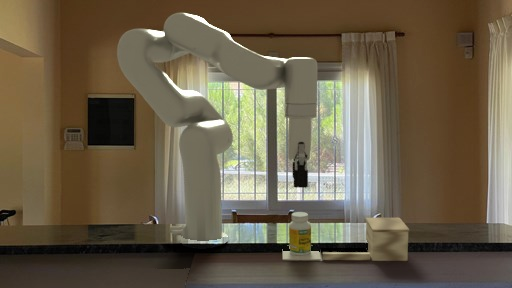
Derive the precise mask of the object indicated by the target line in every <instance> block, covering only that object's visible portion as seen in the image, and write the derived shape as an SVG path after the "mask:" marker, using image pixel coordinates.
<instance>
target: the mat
mask: <svg viewBox="0 0 512 288" xmlns="http://www.w3.org/2000/svg"><path fill="white" fill-rule="evenodd" d="M320 252H321V251H320ZM320 252H319V251H311V252H310V253H309V254H308V255H303V256H298V255H294V254H291V253H290V251H283V250H282V261H319V260H321V257H320Z"/></svg>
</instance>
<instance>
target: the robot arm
mask: <svg viewBox="0 0 512 288" xmlns="http://www.w3.org/2000/svg"><path fill="white" fill-rule="evenodd" d="M163 24H164V25H163V30H161V31H160V30H156V29H155V30H154V29H147V28H132V29H130V30H127V31H126V32H124V33H123V34H122V35H121V36H120V38H119V41H118V44H117V50H116V55H117V62H118V66H119V68H120V70H121V72H122V73H123V76H124V77H125V78H126V79H127V80H128V82H129V83H130V84H131V85H132V86H133V87H134V88H135V90H136V91H138V93H139V94H140V96H141V97H143V100H145V102H146V103H147V104H148V105H149V107H150V108H151V109H152V110H153V111H154V112H155V114H156V115H157V116H158V117H159V119H160V120H161V121H162V122H163V123H164V124H165V125H167V126H168V127H170V128H182V127H185V128H184V129H183V130H182V131H181V134H180V137H179V141H178V146H179V154H180V158H181V162H182V170H183V172H182V173H183V189H184V191H183V192H184V194H183V195H184V215H185V216H184V217H185V224H182V225H181V226H177V225H170V226H169V234H171V235H172V236H181V237H182V236H183V238H185V239H190V240H197V241H209V240H217V239H221V238H222V237H228V238H229V236H228V234H227V233H226V232H223V211H222V205H223V204H222V177H221V168H220V167H221V166H220V164H219V161H218V155H220V154H222V153H225V152H226V151H227V150H229V149H230V147H231V146H232V143H233V141H234V140H233V139H234V136H233V131H232V128H231V126H230V125H229V123H228V122H227V121H226V120H225V119H224V117H223V116H222V115H221V113H220V112H218V111H217V109H216V108H215V107H214V106H213V104H212V103H211V102H210V101H209V100H208V99H207V97H205V96H204V95H203V94H201V93H200V92H198V91H195V90H192V89H181V88H180V87H178V86H177V85H176V84H175V83H174V82H173V81H172V79H171V78H170V76H168V74H167V73H166V72H165V71H164V70H162V69H161V68H160V67H158V66H157V64H155V63H167V62H171V61H174V60H175V59H178V58H181V57H183V56H185V55H188V54H191V55H192V56H194V57H197V58H199V59H201V60H203V61H205V62H207V63H208V64H210V65H213V67H215V68H216V69H218V70H219V71H220V72H222V73H224V74H225V75H226V76H228V77H230V78H232V79H234V80H236V81H237V82H240V83H242V84H244V85H245V86H248V87H250V88H252V89H254V90H255V89H256V90H260V91H262V90H263V91H264V90H265V91H266V90H276V89H282V88H283V89H284V118H286V119H288V127H287V128H288V131H287V135H288V136H287V137H288V140H287V141H288V142H287V157H288V160H289V161H291V162H292V160H293V162H292V178H293V187H294V188H301V189H302V188H308V185H309V170H308V161H309V160H310V157H311V146H312V119H316V118H317V117H318V115H317V114H318V113H317V111H318V62H317V60H316V59H315V58H313V57H289V58H280V57H272V56H264V55H262V54H259V53H257V52H255V51H253V50H250V49H248V48H246V47H244V46H242V45H241V44H239V43H237V42H236V41H234V40H233V38H232V37H231V35H230V33H228V32H227V31H224V30H222V29H220V28H217V27H216V26H213V25H212V24H209V23H208V22H207V21H206V20H205V18H203V17H200V15H199V16H198V15H195V14H190V13H186V12H176V13H173V14H171V15H170V16H168V17H167V19H166V20H165V22H164V23H163ZM186 126H187V127H186Z"/></svg>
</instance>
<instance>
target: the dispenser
mask: <svg viewBox="0 0 512 288" xmlns="http://www.w3.org/2000/svg"><path fill="white" fill-rule="evenodd" d="M364 220H365V222H366V223H365V224H366V225H365V229H366V230H365V241H366V240H367V242H368V250H367V252H364V251H363V252H361V251H360V252H358V251H355V252H353V251H352V252H350V251H349V252H345V251H344V252H341V251H340V252H339V251H338V252H337V251H332V252H329V251H322V253H321V251H320V257H321V260H318V261H319V262H323V261H371V260H372V261H377V262H378V261H379V262H383V261H384V262H385V261H386V262H390V261H391V262H392V261H393V262H396V261H398V262H401V261H402V262H406V261H408V255H409V254H408V253H409V250H408V249H409V248H408V247H409V232H410V228H409V227H408V226H407V224H406V223H405V222H404V221H403V220H402V219H401V218H400V217H365V218H364Z"/></svg>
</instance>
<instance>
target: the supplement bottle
mask: <svg viewBox="0 0 512 288" xmlns="http://www.w3.org/2000/svg"><path fill="white" fill-rule="evenodd" d="M308 220H309V214H308V213H307V212H305V211H304V212H303V211H296V212H293V213H291V221H290V223H289V225H288V229H289V230H288V232H289V233H288V239H289V241H288V243H289V244H288V246H289V249H290V253H291V254H294V255H298V256H303V255H308V254H309V253H310V252H311V246H312V224H311V222H310V221H308Z"/></svg>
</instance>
